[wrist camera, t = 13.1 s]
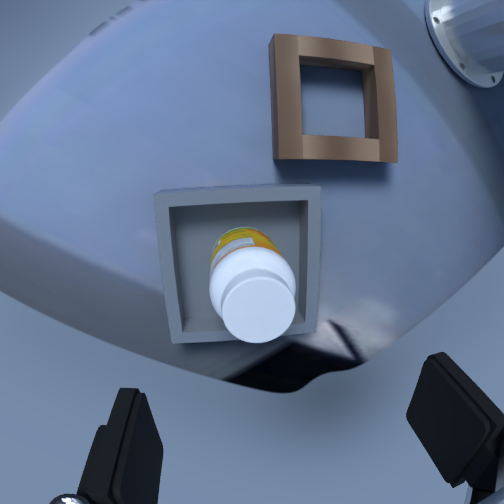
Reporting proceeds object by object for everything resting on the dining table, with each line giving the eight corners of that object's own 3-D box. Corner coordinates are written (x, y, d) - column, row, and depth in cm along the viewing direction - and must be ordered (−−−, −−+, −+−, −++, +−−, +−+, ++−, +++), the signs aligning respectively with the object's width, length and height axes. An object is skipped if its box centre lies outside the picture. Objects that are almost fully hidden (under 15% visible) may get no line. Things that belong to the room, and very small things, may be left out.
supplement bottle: (285, 273, 27) (320, 331, 17) (226, 298, 27) (233, 366, 17) (262, 215, 25) (290, 247, 16) (199, 241, 25) (191, 288, 16)
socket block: (377, 57, 23) (390, 49, 20) (383, 162, 25) (397, 162, 23) (268, 44, 22) (273, 33, 19) (272, 159, 24) (279, 159, 22)
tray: (309, 183, 25) (321, 186, 22) (306, 315, 29) (316, 331, 26) (160, 190, 24) (153, 193, 21) (175, 325, 27) (172, 343, 24)
